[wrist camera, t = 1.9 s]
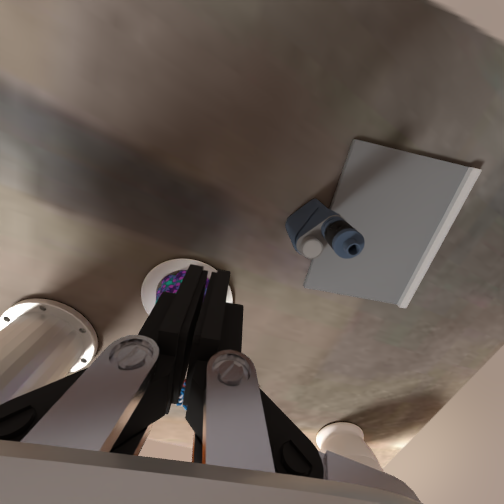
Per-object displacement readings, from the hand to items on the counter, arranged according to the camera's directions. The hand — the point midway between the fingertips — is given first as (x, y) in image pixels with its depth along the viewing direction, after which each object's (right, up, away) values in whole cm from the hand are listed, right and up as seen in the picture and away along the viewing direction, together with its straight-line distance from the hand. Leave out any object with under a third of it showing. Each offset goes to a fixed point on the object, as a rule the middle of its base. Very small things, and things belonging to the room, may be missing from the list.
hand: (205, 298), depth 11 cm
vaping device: (+8, +6, +20) cm, 22 cm away
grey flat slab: (+17, +4, +20) cm, 27 cm away
